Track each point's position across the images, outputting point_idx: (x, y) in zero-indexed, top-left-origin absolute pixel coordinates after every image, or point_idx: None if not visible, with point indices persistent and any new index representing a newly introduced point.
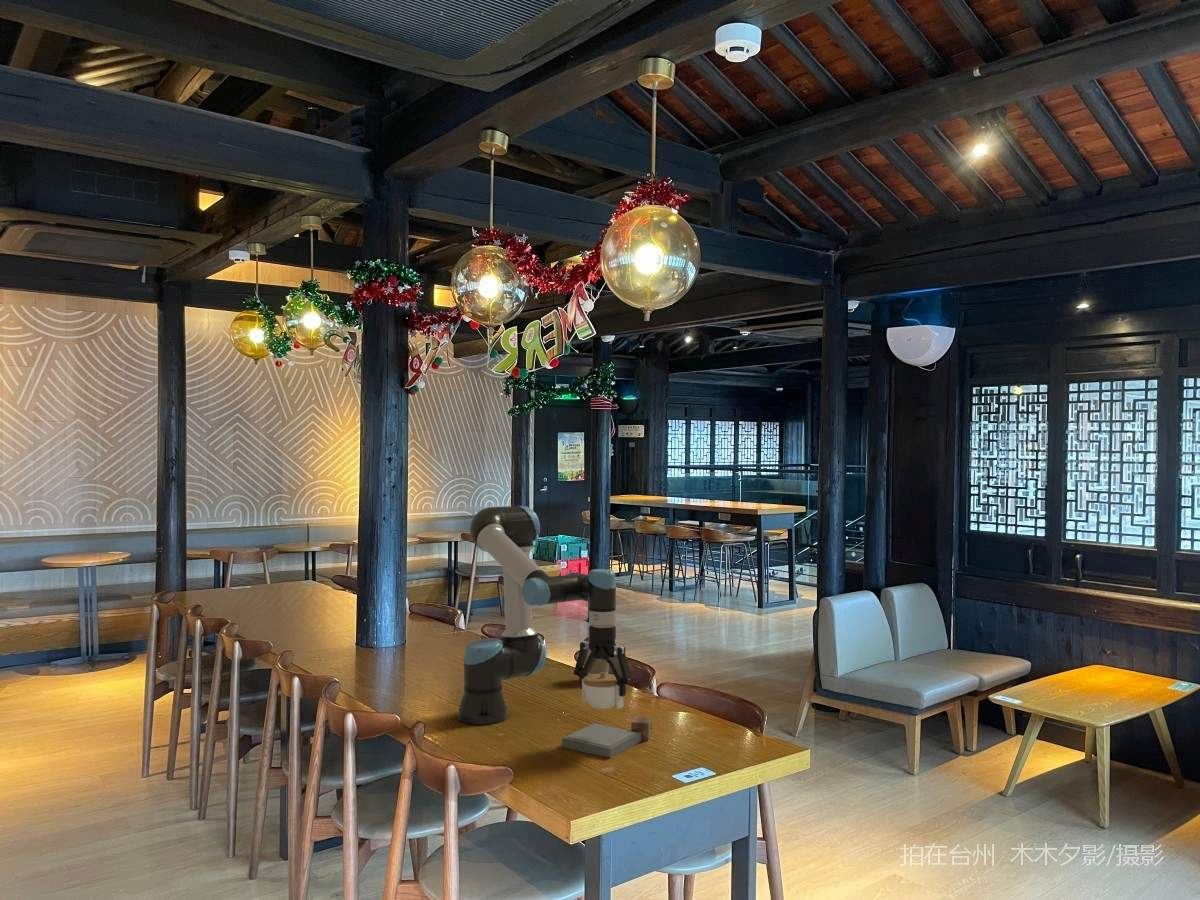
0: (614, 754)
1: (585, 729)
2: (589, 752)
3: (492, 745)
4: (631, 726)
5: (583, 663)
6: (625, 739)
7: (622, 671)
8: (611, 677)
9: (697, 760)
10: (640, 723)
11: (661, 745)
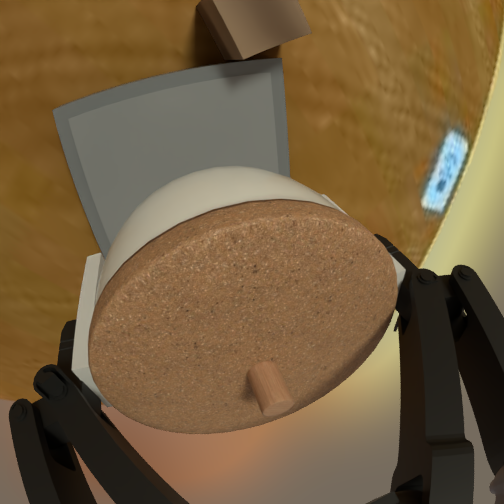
0: None
1: (97, 191)
2: None
3: (35, 364)
4: (239, 59)
5: (60, 485)
6: (280, 153)
7: (466, 366)
8: (322, 321)
9: (436, 102)
10: (280, 43)
11: (336, 50)
